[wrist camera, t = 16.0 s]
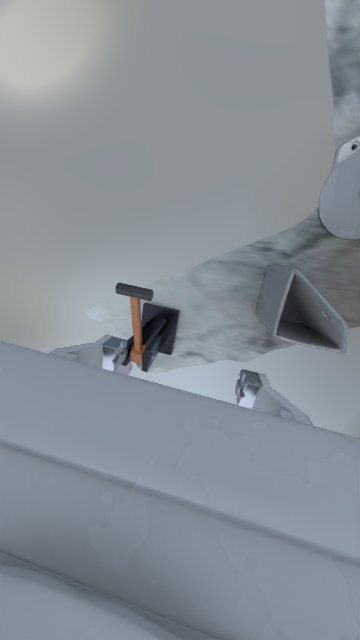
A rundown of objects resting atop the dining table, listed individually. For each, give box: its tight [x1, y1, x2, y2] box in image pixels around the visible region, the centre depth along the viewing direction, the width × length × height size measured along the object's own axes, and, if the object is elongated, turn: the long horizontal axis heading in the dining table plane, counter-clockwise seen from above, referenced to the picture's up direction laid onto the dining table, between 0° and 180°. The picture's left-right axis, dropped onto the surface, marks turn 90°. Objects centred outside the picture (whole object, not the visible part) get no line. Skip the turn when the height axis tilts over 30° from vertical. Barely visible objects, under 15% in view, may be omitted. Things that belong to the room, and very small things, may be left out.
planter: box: [256, 265, 348, 354], centre depth 33 cm, size 16×8×19 cm, turn 36°
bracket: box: [121, 303, 180, 372], centre depth 42 cm, size 12×9×16 cm
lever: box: [116, 283, 153, 364], centre depth 31 cm, size 16×5×2 cm, turn 170°
